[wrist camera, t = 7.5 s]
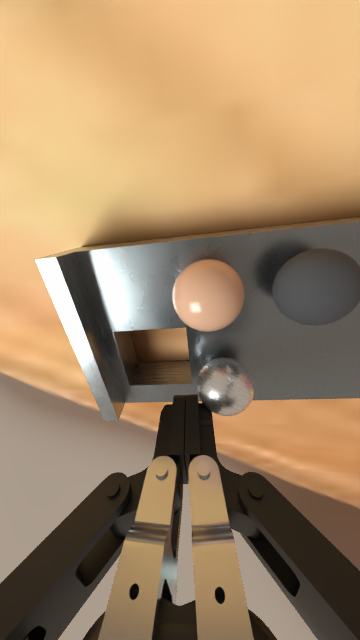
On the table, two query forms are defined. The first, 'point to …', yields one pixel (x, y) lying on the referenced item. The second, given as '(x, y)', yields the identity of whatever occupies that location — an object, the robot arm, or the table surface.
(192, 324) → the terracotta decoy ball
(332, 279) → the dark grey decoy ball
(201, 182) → the table surface
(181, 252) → the grey ball holder tray
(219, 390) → the steel ball
